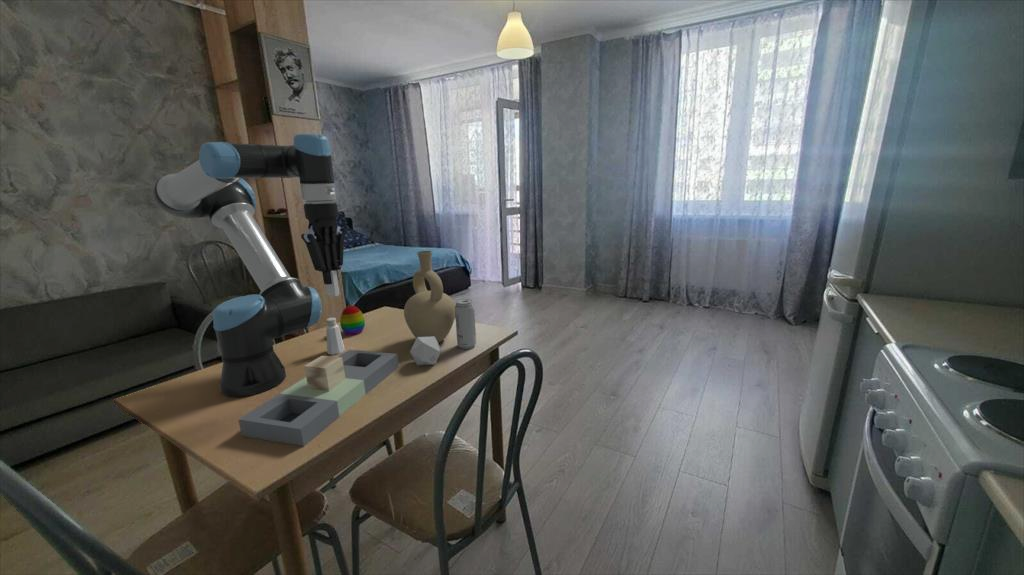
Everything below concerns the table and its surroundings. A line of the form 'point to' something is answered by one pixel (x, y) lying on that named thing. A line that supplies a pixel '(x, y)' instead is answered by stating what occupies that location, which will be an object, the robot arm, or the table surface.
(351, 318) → the decorative egg
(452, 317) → the vase
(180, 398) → the table surface
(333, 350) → the pepper shaker
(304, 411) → the board
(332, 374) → the birch block
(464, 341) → the energy drink can
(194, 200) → the robot arm
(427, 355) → the die
